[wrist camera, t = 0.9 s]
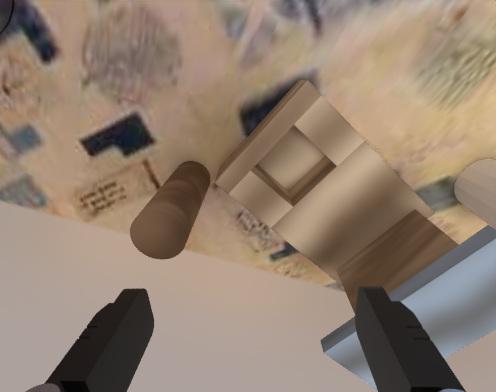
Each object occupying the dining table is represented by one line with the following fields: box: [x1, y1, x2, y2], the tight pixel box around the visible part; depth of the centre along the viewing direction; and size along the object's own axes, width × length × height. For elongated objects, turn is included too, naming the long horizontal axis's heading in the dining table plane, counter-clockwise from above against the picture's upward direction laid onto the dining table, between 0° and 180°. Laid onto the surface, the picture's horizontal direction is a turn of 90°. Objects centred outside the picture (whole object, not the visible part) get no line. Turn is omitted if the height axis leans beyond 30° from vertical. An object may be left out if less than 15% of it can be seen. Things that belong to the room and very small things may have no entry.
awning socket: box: [215, 79, 496, 390], centre depth 23 cm, size 18×13×16 cm
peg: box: [130, 161, 210, 259], centre depth 25 cm, size 4×4×12 cm
